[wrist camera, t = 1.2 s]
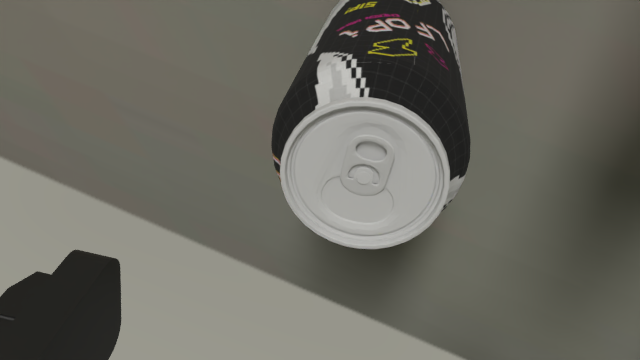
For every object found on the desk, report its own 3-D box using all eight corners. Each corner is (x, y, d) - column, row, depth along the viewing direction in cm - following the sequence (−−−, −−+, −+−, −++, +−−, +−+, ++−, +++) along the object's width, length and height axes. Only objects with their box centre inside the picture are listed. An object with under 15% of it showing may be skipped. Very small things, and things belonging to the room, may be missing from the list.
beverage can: (475, -6, 25) (507, 111, 14) (433, 119, 28) (436, 289, 17) (338, -39, 25) (275, 53, 14) (312, 88, 28) (243, 239, 17)
